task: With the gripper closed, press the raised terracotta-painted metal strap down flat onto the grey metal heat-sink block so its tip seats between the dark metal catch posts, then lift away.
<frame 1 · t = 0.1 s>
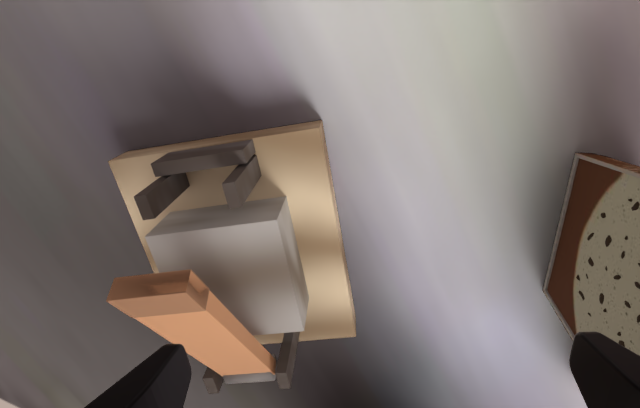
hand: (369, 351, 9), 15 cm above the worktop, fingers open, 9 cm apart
clamp base: (250, 240, 25), on the worktop
food container: (610, 226, 23), on the worktop, touching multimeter
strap: (215, 339, 18), point 8 cm above the worktop, hinge at 28.0°
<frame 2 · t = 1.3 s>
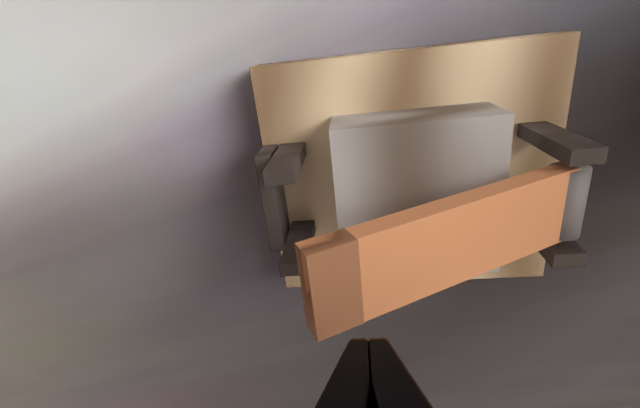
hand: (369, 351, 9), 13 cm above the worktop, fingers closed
clamp base: (403, 168, 20), on the worktop
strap: (461, 237, 13), point 8 cm above the worktop, hinge at 28.0°
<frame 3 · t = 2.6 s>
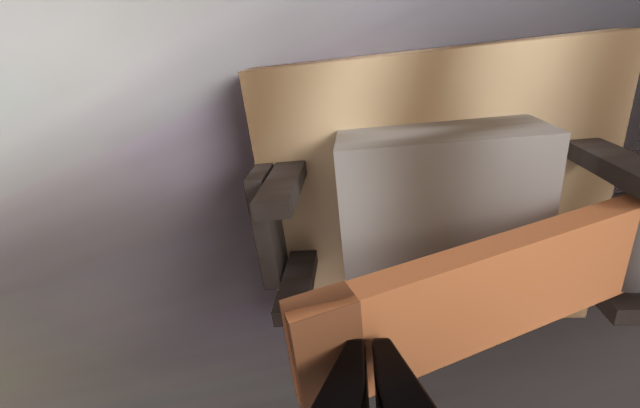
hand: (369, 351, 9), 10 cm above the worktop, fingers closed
clamp base: (421, 188, 17), on the worktop
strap: (497, 290, 10), point 8 cm above the worktop, hinge at 25.0°, touching gripper
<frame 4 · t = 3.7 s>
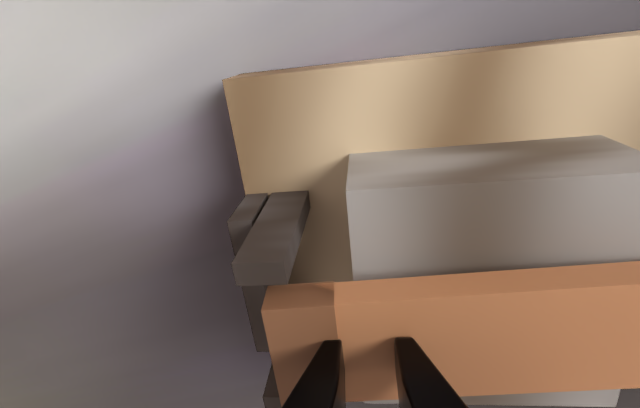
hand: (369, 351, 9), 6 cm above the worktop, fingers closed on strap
clamp base: (451, 221, 14), on the worktop
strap: (521, 333, 9), point 6 cm above the worktop, hinge at 3.9°, touching gripper
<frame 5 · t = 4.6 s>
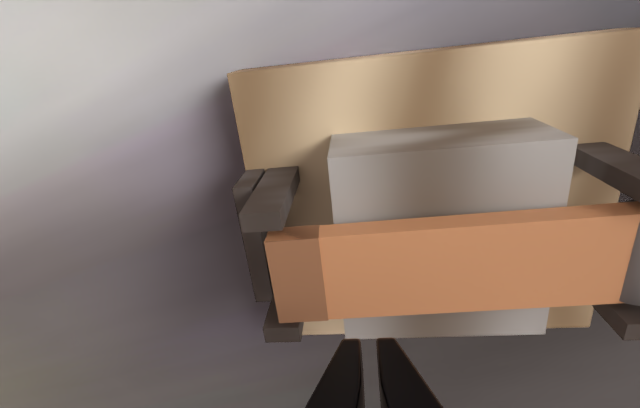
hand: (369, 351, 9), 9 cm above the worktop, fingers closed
clamp base: (419, 194, 17), on the worktop
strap: (461, 264, 11), point 6 cm above the worktop, hinge at 1.9°
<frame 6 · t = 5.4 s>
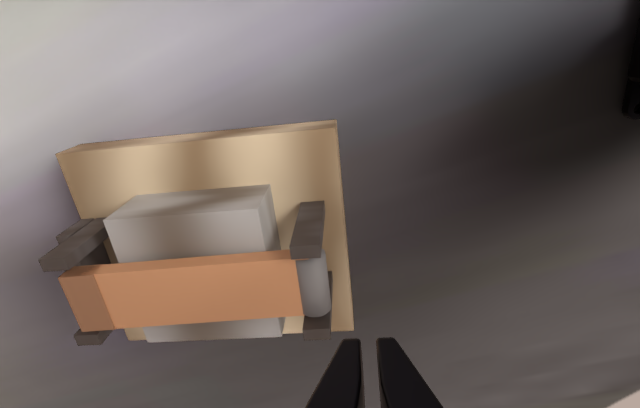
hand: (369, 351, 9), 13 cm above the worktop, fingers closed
clamp base: (227, 232, 22), on the worktop
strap: (199, 290, 17), point 6 cm above the worktop, hinge at 1.9°
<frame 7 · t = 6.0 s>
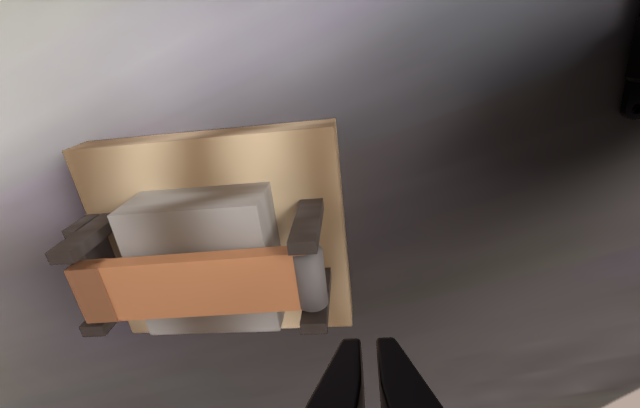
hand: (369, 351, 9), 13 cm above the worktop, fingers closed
clamp base: (228, 228, 23), on the worktop
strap: (200, 284, 17), point 6 cm above the worktop, hinge at 1.9°
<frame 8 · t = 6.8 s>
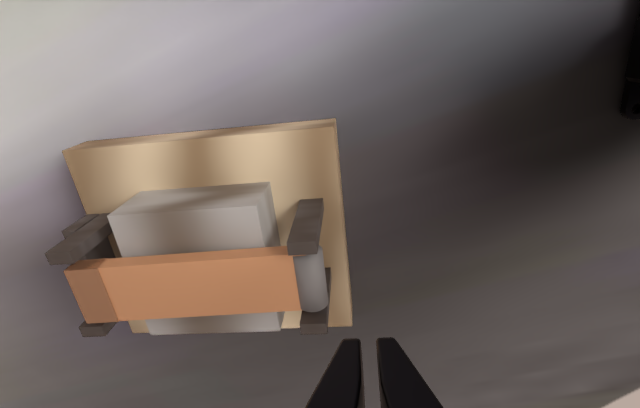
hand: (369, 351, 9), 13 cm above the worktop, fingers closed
clamp base: (228, 228, 23), on the worktop
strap: (200, 284, 17), point 6 cm above the worktop, hinge at 1.9°
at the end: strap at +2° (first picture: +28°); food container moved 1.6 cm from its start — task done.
